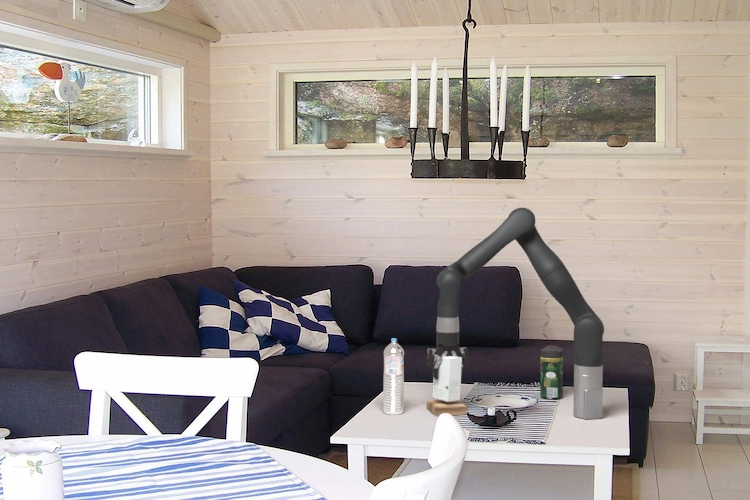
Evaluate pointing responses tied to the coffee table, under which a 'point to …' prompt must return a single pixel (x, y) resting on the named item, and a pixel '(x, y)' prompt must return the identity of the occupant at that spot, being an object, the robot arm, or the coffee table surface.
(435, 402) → the plinth
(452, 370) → the skincare box
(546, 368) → the coffee jar
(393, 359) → the water bottle
